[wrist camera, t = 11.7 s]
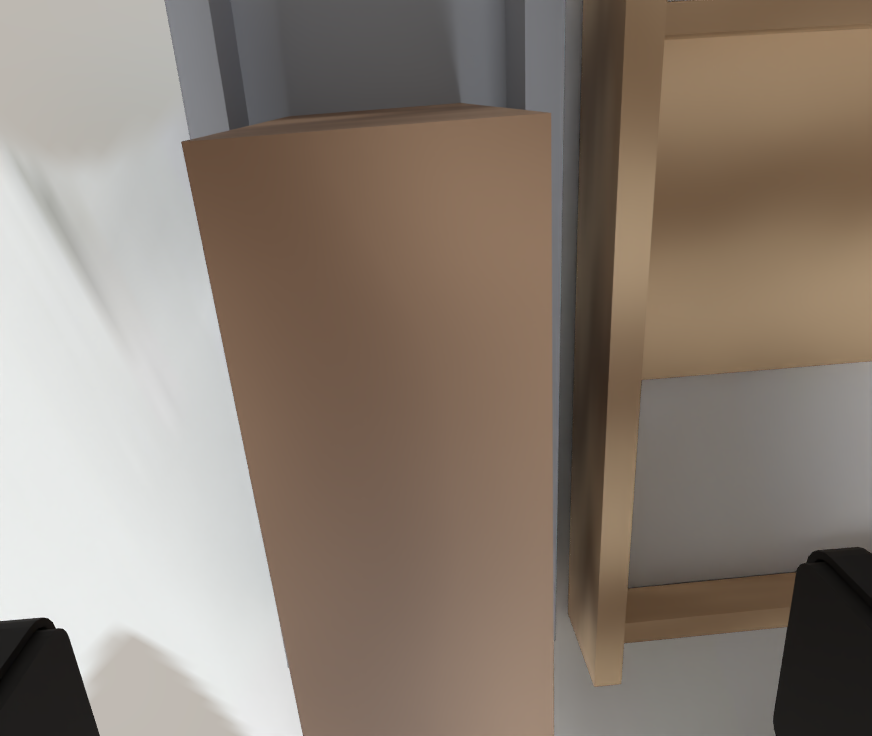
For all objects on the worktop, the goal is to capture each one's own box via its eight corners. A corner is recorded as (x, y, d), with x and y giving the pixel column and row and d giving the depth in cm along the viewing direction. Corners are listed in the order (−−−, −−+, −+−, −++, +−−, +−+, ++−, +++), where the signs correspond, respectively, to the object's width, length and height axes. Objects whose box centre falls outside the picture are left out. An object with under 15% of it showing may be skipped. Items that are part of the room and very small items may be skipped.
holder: (535, 578, 22) (555, 640, 19) (299, 600, 21) (288, 667, 19) (536, -25, 15) (566, -48, 13) (196, -7, 15) (159, -27, 12)
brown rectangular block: (460, 102, 16) (551, 112, 7) (483, 529, 20) (554, 833, 12) (288, 116, 15) (181, 142, 7) (350, 543, 20) (328, 862, 12)
